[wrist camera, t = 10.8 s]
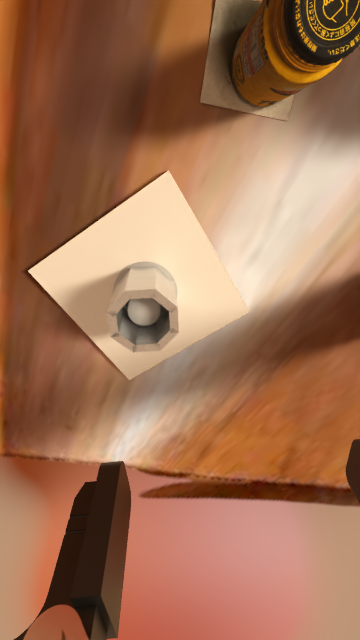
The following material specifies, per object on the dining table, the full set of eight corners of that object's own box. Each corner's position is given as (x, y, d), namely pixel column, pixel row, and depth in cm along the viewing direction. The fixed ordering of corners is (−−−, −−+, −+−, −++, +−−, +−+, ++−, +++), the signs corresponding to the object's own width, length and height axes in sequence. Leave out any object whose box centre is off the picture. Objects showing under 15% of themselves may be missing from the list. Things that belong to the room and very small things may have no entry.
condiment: (286, 121, 28) (367, 91, 17) (199, 102, 27) (228, 58, 16) (314, 18, 25) (434, -97, 14) (216, -8, 23) (266, -155, 13)
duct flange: (247, 308, 36) (263, 331, 31) (129, 375, 40) (125, 407, 35) (168, 170, 29) (170, 170, 24) (31, 268, 32) (6, 287, 27)
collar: (172, 264, 32) (176, 287, 26) (175, 317, 35) (179, 349, 29) (113, 268, 32) (102, 292, 25) (121, 320, 35) (113, 354, 28)
